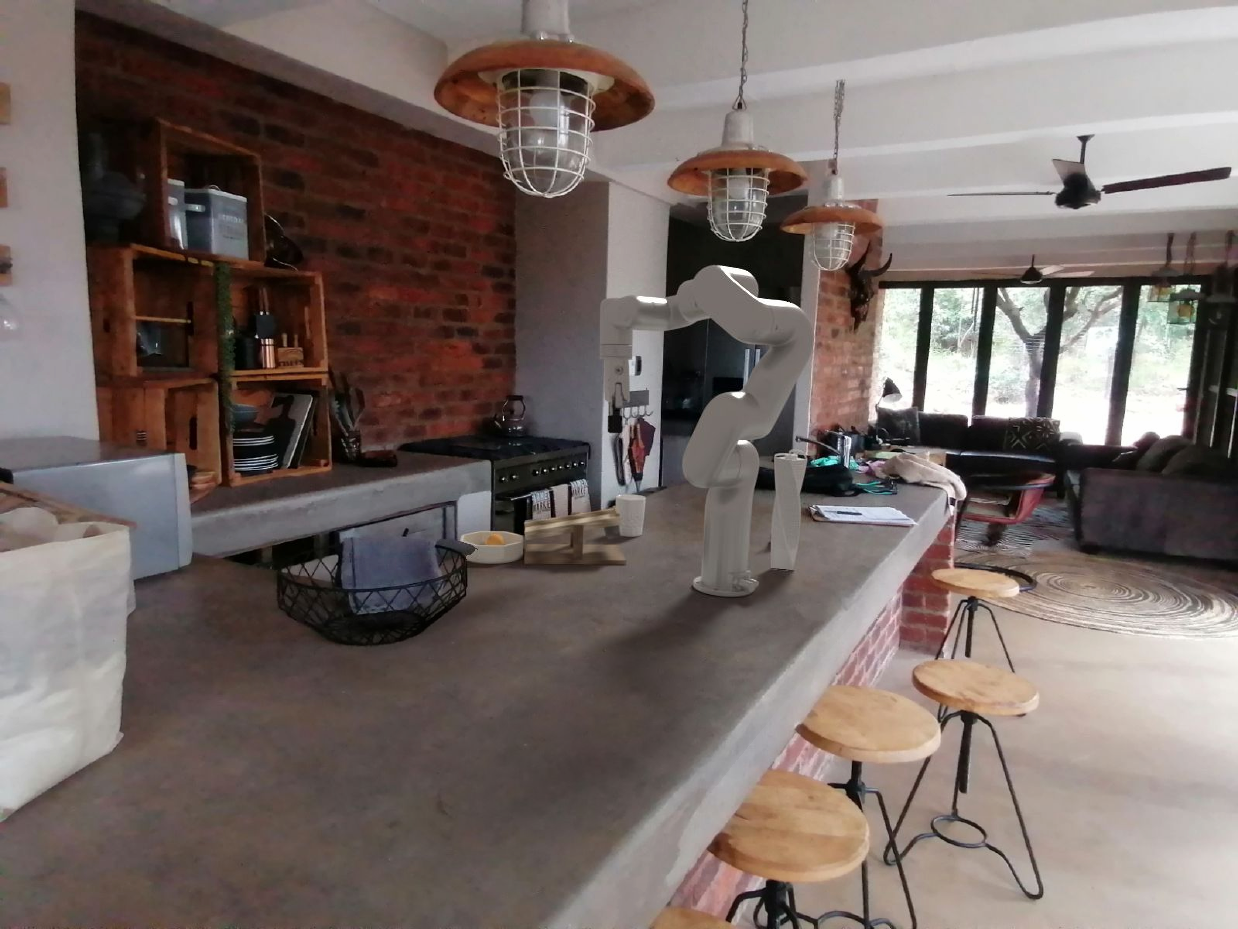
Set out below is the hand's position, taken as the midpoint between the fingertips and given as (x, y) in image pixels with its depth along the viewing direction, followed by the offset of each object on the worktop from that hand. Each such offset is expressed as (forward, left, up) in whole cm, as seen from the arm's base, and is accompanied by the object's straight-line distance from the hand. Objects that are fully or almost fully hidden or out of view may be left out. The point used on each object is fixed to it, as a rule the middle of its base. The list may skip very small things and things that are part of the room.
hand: (614, 432), depth 184 cm
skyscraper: (-28, -29, -29) cm, 50 cm away
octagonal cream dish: (+13, +25, -29) cm, 40 cm away
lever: (+6, +7, -25) cm, 27 cm away
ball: (+12, +24, -26) cm, 38 cm away
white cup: (+15, -17, -30) cm, 37 cm away
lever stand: (+3, +8, -29) cm, 30 cm away
